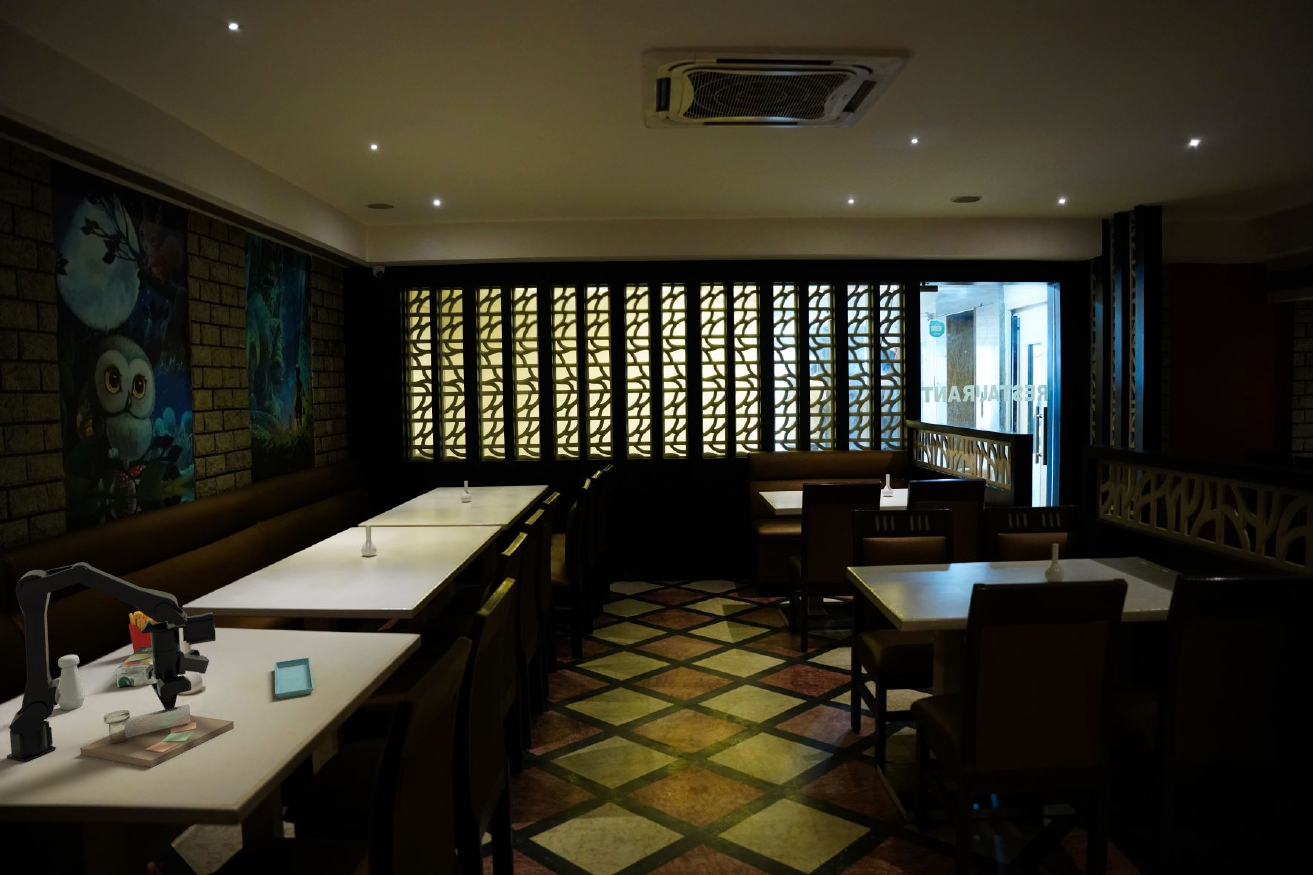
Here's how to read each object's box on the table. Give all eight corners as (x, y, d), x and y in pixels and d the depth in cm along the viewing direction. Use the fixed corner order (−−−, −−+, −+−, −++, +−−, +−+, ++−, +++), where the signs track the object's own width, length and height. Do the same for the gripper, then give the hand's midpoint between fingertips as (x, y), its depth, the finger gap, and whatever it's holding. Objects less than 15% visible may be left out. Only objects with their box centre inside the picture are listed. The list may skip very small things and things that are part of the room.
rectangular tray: (314, 695, 214) (314, 686, 214) (275, 701, 210) (274, 692, 210) (310, 665, 238) (309, 657, 238) (274, 670, 234) (274, 662, 234)
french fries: (129, 656, 249) (126, 613, 248) (134, 652, 253) (131, 610, 252) (164, 653, 251) (161, 610, 250) (168, 649, 255) (165, 607, 254)
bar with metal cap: (107, 746, 180) (105, 720, 180) (104, 739, 184) (102, 714, 184) (192, 725, 191) (190, 700, 191) (187, 719, 195) (186, 694, 194)
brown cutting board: (151, 767, 174) (150, 759, 174) (80, 754, 181) (80, 746, 181) (233, 727, 193) (233, 720, 193) (167, 717, 201) (166, 710, 201)
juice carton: (156, 685, 224) (154, 662, 224) (114, 690, 221) (112, 667, 221) (177, 662, 243) (175, 642, 243) (139, 667, 241) (137, 646, 240)
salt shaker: (71, 712, 206) (67, 660, 205) (51, 710, 207) (47, 659, 206) (91, 703, 211) (87, 652, 211) (72, 702, 213) (68, 652, 212)
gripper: (214, 649, 192) (218, 715, 193) (195, 632, 206) (199, 694, 207) (158, 660, 185) (163, 729, 186) (143, 642, 199) (147, 706, 200)
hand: (170, 713), depth 195 cm, fingers closed
